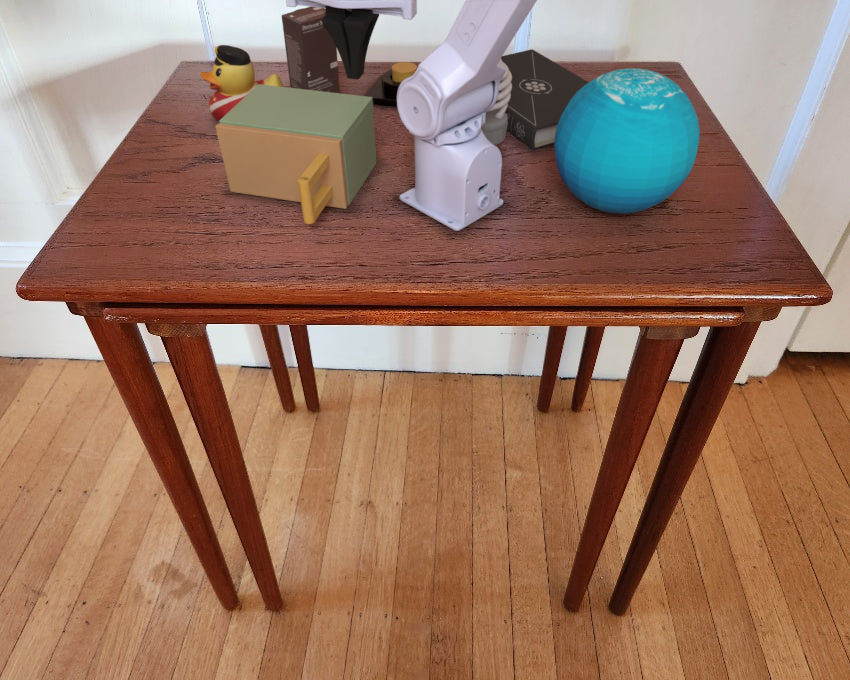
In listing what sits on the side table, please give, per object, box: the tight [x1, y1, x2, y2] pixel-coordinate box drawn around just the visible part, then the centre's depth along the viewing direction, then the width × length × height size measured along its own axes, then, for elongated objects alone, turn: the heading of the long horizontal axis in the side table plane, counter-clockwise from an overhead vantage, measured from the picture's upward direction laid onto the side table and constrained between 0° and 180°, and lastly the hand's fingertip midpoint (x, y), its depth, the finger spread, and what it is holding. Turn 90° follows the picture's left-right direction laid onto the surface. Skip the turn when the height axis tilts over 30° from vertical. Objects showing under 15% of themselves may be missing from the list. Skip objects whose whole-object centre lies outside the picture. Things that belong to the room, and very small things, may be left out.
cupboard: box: [218, 84, 378, 206], centre depth 80 cm, size 10×15×9 cm
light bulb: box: [481, 63, 512, 146], centre depth 83 cm, size 6×6×12 cm
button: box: [391, 61, 418, 83], centre depth 97 cm, size 4×4×2 cm
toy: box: [200, 44, 285, 123], centre depth 91 cm, size 9×11×10 cm
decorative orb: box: [553, 67, 701, 215], centre depth 73 cm, size 15×15×15 cm
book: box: [495, 49, 590, 150], centre depth 96 cm, size 22×15×3 cm
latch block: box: [364, 68, 401, 108], centre depth 99 cm, size 10×8×3 cm
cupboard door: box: [214, 122, 349, 225], centre depth 74 cm, size 7×15×8 cm, turn 75°
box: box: [281, 6, 341, 94], centre depth 95 cm, size 6×4×12 cm
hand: (355, 75), depth 80 cm, fingers closed
